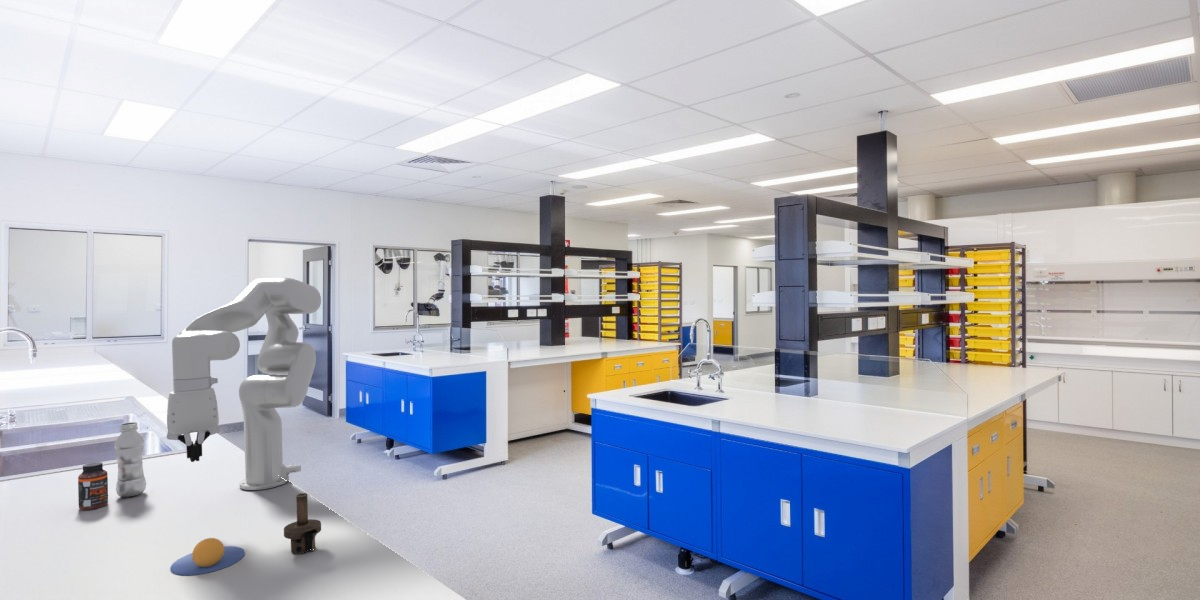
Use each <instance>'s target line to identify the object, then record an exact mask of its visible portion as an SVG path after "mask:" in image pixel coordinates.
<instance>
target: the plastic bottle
mask: <svg viewBox="0 0 1200 600" xmlns="http://www.w3.org/2000/svg"><path fill="white" fill-rule="evenodd" d="M119 427H120V429H119V432H121V433H120V434H119V436H118V437H117V438H116V440H115V441H114V451H115V456H116V462H117V481H116V484H115V487H116V488H115V491H116V494H117V496H118V497H120V498H127V497H129V498H130V496H131V497H134V496H139V495H140V494H143V493H144V492H145V490H147V489H146V488H147V480H146V477H145V473H144V468H143V467H144V466H143V463H144V462H143V460H144V459H143V457H144V454H143V453H144V447H145V440H144V437H143V436H142V435H141V434H140V433H139V432H138V430H139V427H138V421H130V422H124V423H120V426H119Z"/></svg>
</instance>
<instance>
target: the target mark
mask: <svg viewBox="0 0 1200 600" xmlns="http://www.w3.org/2000/svg"><path fill="white" fill-rule="evenodd" d="M223 546H224V554H223V556H222V558H221V559H220V561H219V562H217V563H216V564H215V565H213V566H210V567H200V566H198V565H196V564H195V563H194V561H193V559H192V553H193V552H192V553H189V554H186V555H184V556H181V557H180V558H178V559H177V560H175V561H173V562H172V564H171V566H170V568H169V569H170V572H171V573H172V574H174V573H175V575H178V576H196V575H197V576H198V575H203V574H204V575H205V574H209V573H212V572H216V571H219V570H222V569H226V568H229V567H230V566H232V565H234V564H236V563H238V562H239V561H241V559H243V558H244V557H245V555H246V551H245V549H244V548H242V547H239V546H234V545H223Z"/></svg>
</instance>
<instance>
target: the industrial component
mask: <svg viewBox="0 0 1200 600" xmlns="http://www.w3.org/2000/svg"><path fill="white" fill-rule="evenodd" d="M295 498H296V499H295V500H296V521H294V522H291V523H289V524H287V525H285V526H284V528H283V537H284V538H285V539H287V540H290V553H292V552H293V553H292V554H295V553H301V554H304V553H303V552H305V553H307V552H308V551H307V550H309V551H310V549H311V550H313V549H315V550H316V536H317V534H319V533H320V532H321V531H322V522H321V520H319V519H314V518H311V519H309V511H308V510H309V508H308V507H309V505H308V504H309V502H308V493H306V492H305V493H304V492H302V493H298V494H296V497H295Z"/></svg>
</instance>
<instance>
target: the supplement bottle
mask: <svg viewBox="0 0 1200 600" xmlns="http://www.w3.org/2000/svg"><path fill="white" fill-rule="evenodd" d="M103 467H104V465H103V462H102V461H99V462H98V461H97V462H88V463H86V464H83V465H82V472H81V473H80V474H79V475H78V477H77V486H78V489H77V490H78V494H77V495H78V496H77V497H78V509H79V510H80V511H81V510H82V511H91V510H96V509H102V508H103V507H105V506H107V505H108V503H109V479H108V471H107V470H105V469H103Z"/></svg>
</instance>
